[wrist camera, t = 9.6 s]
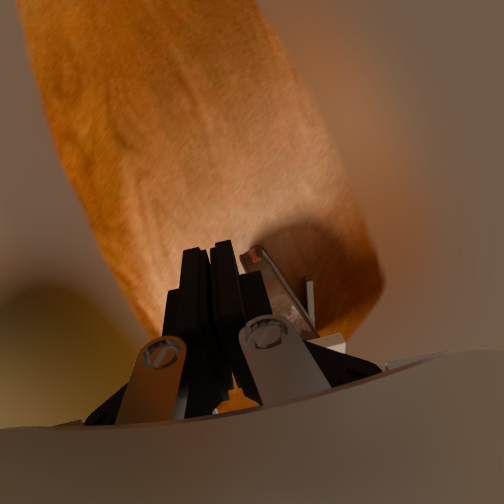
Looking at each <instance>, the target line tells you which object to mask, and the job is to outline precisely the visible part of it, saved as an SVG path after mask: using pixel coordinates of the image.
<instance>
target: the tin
mask: <svg viewBox="0 0 504 504" xmlns="http://www.w3.org/2000/svg"><path fill="white" fill-rule="evenodd" d="M239 258H240V261H241V264H242V266H243V268H244V270H245V272H246V273H250V272H254V271H258V270H260V271H261V274H262V278H263V281H264V284H265V288H266V291H267V295H268V298H269V301H270V305H271V308H272V312H273V315H278V316H282V317H284V318H286V319H288V320H289V321H290V322H291V323H292V324H293V326H294V328H295V329H296V331H297V332H298V334H299V336H300V337H301V339H302V340H305V341H308V340H312V339H316V338H321V337H320V336H319V335H318V333H317V331H316V329H315V326H314V323H313V322H312V320H311V318H310V316H309V315H308V313H307V312H306V310H305V309H304V307H303V305H302V304H301V302H300V301H299V299H298V298H297V296H296V295H295V293H294V292H293V290H292V289H291V287H290V285H289V284H288V282H287V281H286V279H285V278H284V276H283V275H282V273H281V272H280V271H279V269H278V268H277V266H276V265H275V263H274V262H273V261H272V259H271V258H270V256H269V255H268V254H267V252H266V251H265V250H264V248H263V247H262V246H260V245H257V246H255V247H253V248H252V249H250V250H249V251H247V252H246V253H244V254H241V255H240V256H239Z"/></svg>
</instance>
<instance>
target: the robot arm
mask: <svg viewBox="0 0 504 504" xmlns="http://www.w3.org/2000/svg"><path fill="white" fill-rule="evenodd" d="M210 262H211V265H210ZM210 262H209V258H208V255H207V252H206V249H205V250H200V248H199V247H196V248H192V249H187V250H184V251H183V257H182V266H181V275H180V284H179V288H178V289H174V290H170V291H168V295H167V302H166V309H165V316H164V324H163V331H162V337H158V338H156V339H153V340H151V341H150V342H149V343H147V344H146V345H145V346H144V347H143V348H142V349H141V350H140V352H139V354H138V356H137V359H136V362H135V365H134V367H133V371H132V373H131V376H130V379H129V382H128V383H127V384H126V385H124V386H123V387H122V388H121V389H120V390H119V391H117V392H116V393H115V394H114V395H113V396H111V397H110V398H109V399H108V400H107V401H105V402H104V403H103V404H102V405H101V406H100V407H98V408H97V409H96V410H95V411H94V412H93V413H91V415H90V416H89V417H88V418H87V419H86V421H85V422H84V421H83V420H82V419H80V420H75V421H71V422H68V423H63V424H59V425H54V426H19V427H7V428H2V429H0V504H504V348H501V347H489V346H483V347H470V348H462V349H457V350H452V351H445V352H440V353H435V354H429V355H425V356H419V357H413V358H407V359H401V360H395V361H388V362H387V363H386V366H380V367H378V366H377V365H376V364H373V363H371V362H368V361H366V360H363V359H360V358H356V357H353V356H350V355H347V354H344V353H341V352H338V351H335V350H332V349H329V348H326V347H323V346H320V345H317V344H314V343H311V342H308V341H305V340H302V339H301V337H300V336H299V334H298V332H297V331H296V329H295V328H294V326H293V324H292V323H291V322H290V321H289V320H288V319H286V318H284V317H282V316H278V315H273V312H272V308H271V305H270V301H269V298H268V295H267V291H266V288H265V284H264V281H263V278H262V274H261V271H260V270H258V271H254V272H250V273H245V274H241V275H239V272H238V268H237V263H236V259H235V255H234V251H233V247H232V243H231V240H226V241H222V242H217V243H215V247H214V248H210ZM232 372H233V375H234V378H235V380H236V383H237V386H238V388H242V390H243V393H244V395H245V396H246V397H248V398H250V399H251V400H253V401H255V402H257V403H259V405H260V406H256V407H252V408H247V409H241V410H236V411H231V412H225V413H219V414H218V411H217V409H216V408H217V407H218V405H219V404H220V403H221V402H222V401H227V400H229V394H228V390H232V389H234V386H233V377H232Z"/></svg>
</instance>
